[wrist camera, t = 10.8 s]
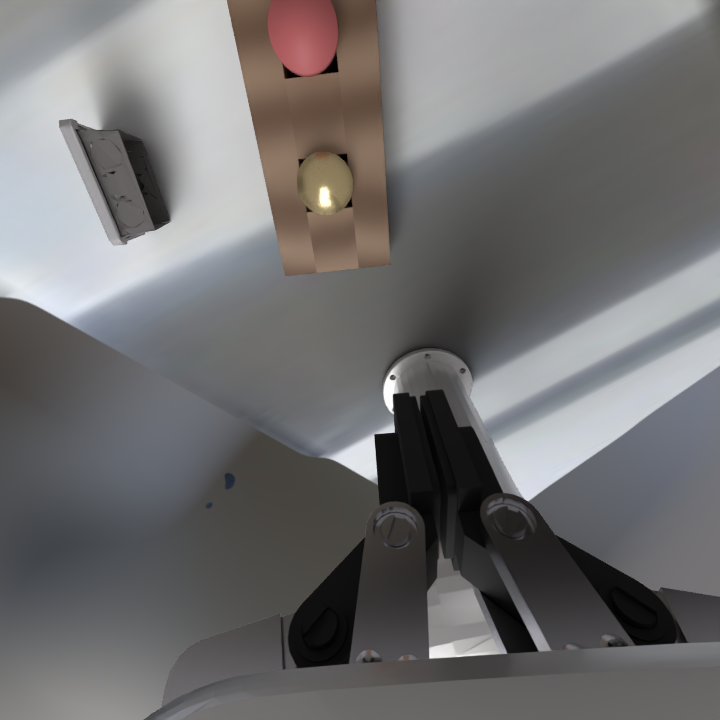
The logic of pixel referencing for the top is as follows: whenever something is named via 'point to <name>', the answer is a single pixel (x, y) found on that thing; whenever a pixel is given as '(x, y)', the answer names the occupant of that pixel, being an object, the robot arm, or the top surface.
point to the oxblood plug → (304, 35)
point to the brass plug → (324, 183)
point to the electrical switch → (116, 180)
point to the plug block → (319, 137)
